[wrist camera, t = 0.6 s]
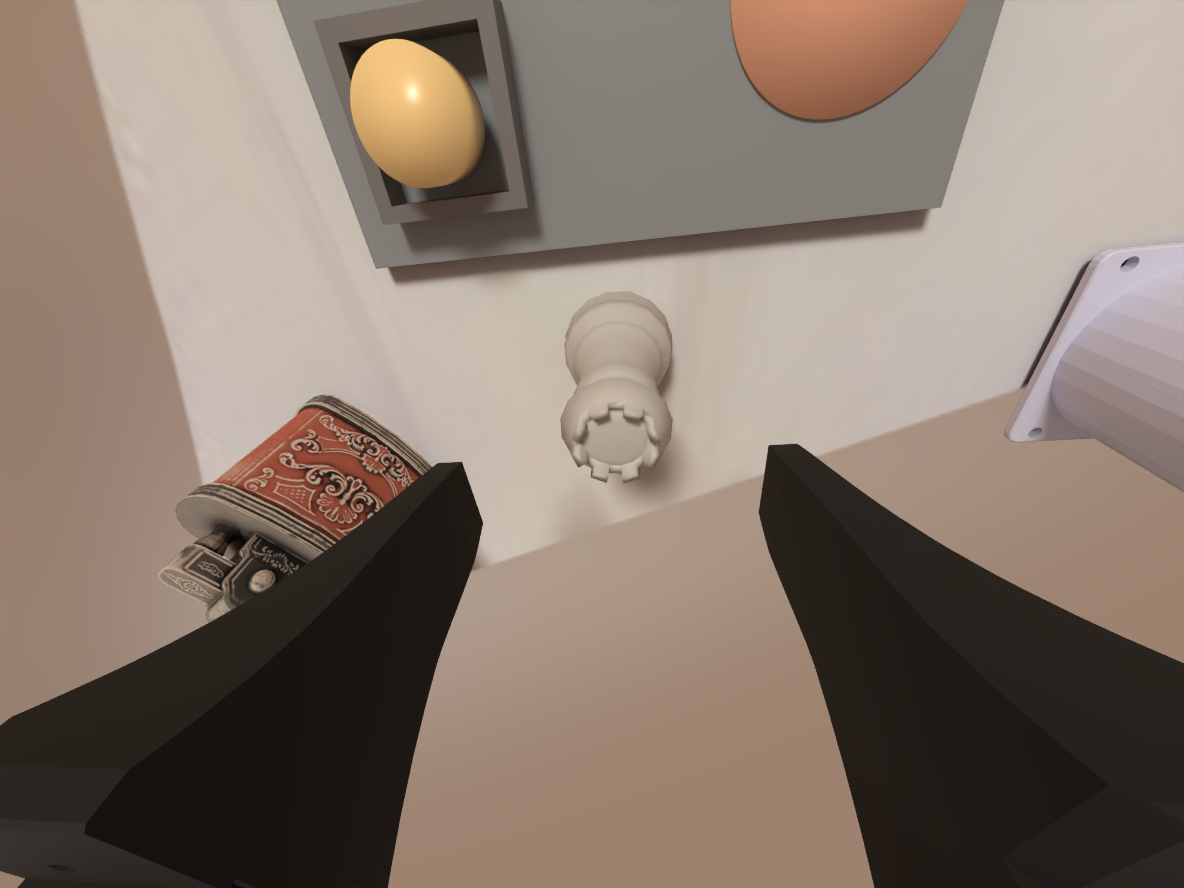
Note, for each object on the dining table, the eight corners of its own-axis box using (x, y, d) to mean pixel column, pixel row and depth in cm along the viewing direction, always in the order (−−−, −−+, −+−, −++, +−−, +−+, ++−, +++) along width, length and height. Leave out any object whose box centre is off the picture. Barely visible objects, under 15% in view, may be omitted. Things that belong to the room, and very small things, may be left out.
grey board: (1134, -515, 8) (1265, -685, 6) (926, 205, 15) (964, 211, 13) (198, -260, 10) (117, -339, 9) (385, 264, 17) (360, 276, 15)
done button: (468, 42, 12) (449, 29, 10) (496, 178, 14) (482, 180, 12) (361, 60, 12) (328, 49, 11) (401, 190, 14) (377, 194, 13)
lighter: (293, 419, 22) (89, 582, 13) (326, 380, 20) (120, 536, 12) (422, 511, 25) (322, 690, 16) (458, 483, 23) (368, 663, 15)
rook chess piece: (676, 379, 19) (704, 498, 12) (579, 395, 20) (558, 516, 13) (664, 276, 17) (691, 357, 10) (554, 300, 17) (512, 389, 11)
